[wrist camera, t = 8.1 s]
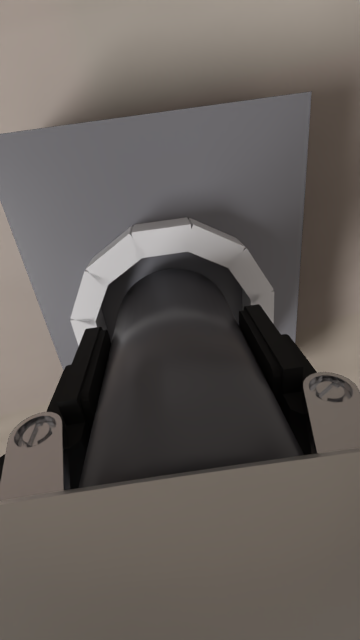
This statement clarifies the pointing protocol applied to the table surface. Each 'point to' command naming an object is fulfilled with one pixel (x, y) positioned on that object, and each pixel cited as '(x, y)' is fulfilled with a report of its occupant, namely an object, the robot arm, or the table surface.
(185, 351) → the lens
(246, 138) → the camera body
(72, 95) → the table surface
